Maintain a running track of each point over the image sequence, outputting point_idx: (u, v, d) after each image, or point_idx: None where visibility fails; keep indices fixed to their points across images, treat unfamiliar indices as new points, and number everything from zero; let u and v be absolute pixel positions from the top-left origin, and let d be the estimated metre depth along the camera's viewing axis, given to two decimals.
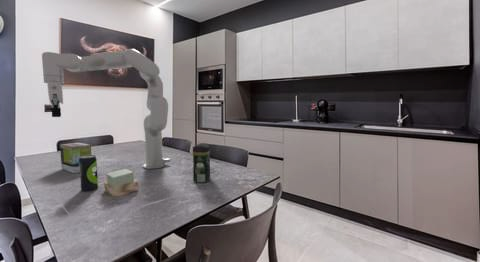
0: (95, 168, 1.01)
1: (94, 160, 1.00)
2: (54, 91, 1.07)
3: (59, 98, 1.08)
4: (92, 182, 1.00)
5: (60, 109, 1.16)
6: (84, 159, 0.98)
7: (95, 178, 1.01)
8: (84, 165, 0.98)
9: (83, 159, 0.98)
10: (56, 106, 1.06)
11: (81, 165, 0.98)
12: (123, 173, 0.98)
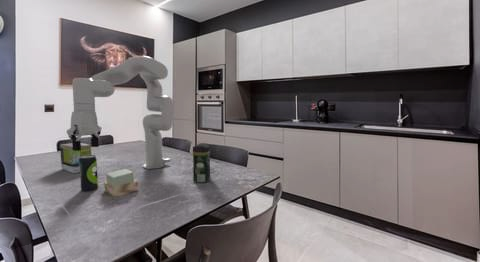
0: (95, 168, 1.01)
1: (94, 160, 1.00)
2: None
3: None
4: (92, 182, 1.00)
5: None
6: (84, 159, 0.98)
7: (95, 178, 1.01)
8: (84, 165, 0.98)
9: (83, 159, 0.98)
10: None
11: (81, 165, 0.98)
12: (123, 173, 0.98)
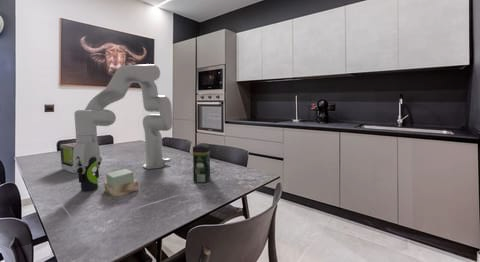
0: (95, 168, 1.01)
1: (94, 160, 1.00)
2: None
3: None
4: (92, 182, 1.00)
5: None
6: None
7: (95, 178, 1.01)
8: None
9: None
10: None
11: (81, 165, 0.98)
12: (122, 173, 0.98)
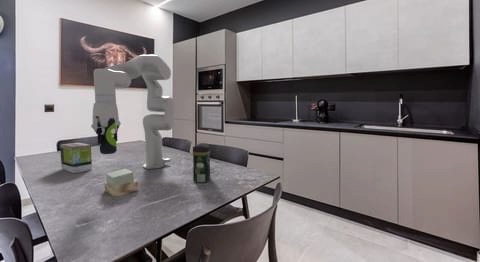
0: (114, 130, 0.98)
1: (113, 122, 0.97)
2: None
3: None
4: (111, 144, 0.97)
5: None
6: None
7: (114, 140, 0.98)
8: None
9: None
10: None
11: None
12: (122, 173, 0.98)
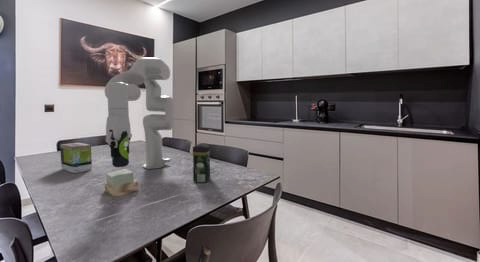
0: (127, 143, 0.98)
1: (126, 134, 0.98)
2: None
3: None
4: (123, 157, 0.97)
5: (111, 149, 0.96)
6: None
7: (127, 153, 0.98)
8: None
9: None
10: None
11: (113, 139, 0.95)
12: (122, 173, 0.98)
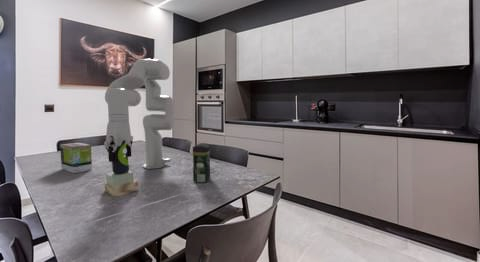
0: (125, 150, 0.98)
1: (124, 141, 0.97)
2: None
3: None
4: (123, 164, 0.97)
5: None
6: None
7: (126, 160, 0.99)
8: None
9: None
10: None
11: None
12: None
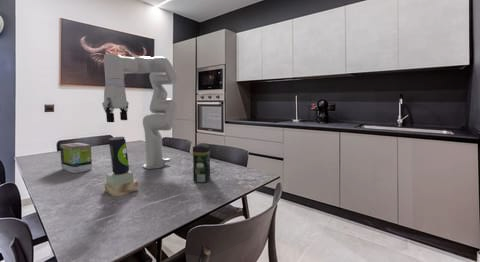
0: (125, 150, 0.98)
1: (124, 141, 0.97)
2: None
3: None
4: (123, 164, 0.97)
5: None
6: (114, 141, 0.95)
7: (126, 160, 0.99)
8: (115, 147, 0.95)
9: (113, 141, 0.95)
10: None
11: (111, 147, 0.95)
12: None
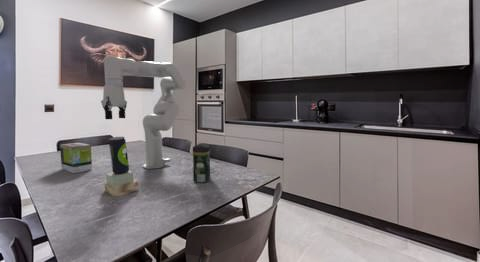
0: (125, 150, 0.98)
1: (124, 141, 0.97)
2: None
3: None
4: (123, 164, 0.97)
5: None
6: (114, 141, 0.95)
7: (126, 160, 0.99)
8: (115, 147, 0.95)
9: (113, 141, 0.95)
10: None
11: (111, 147, 0.95)
12: None
